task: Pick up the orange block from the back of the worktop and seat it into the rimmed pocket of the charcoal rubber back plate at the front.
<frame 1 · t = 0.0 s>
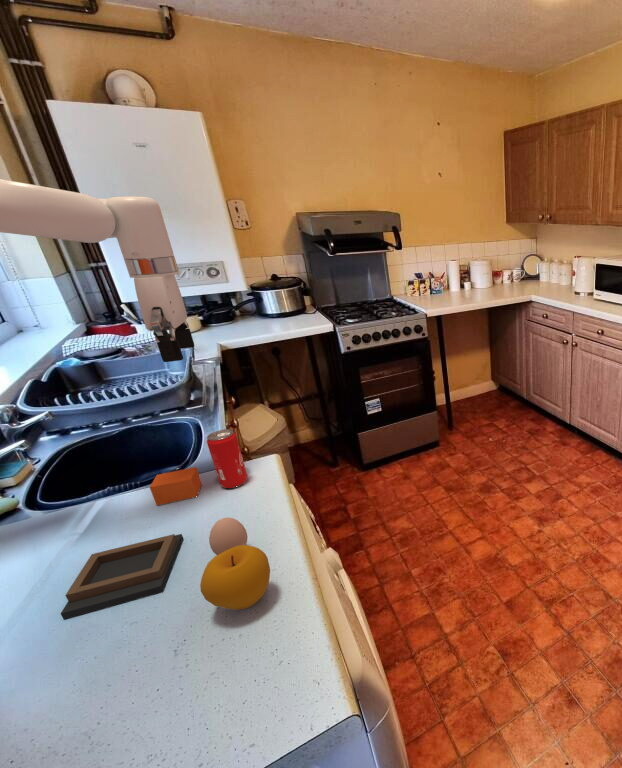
hand: (180, 354, 88), 28 cm above the countertop, tool pointing down, fingers open, 9 cm apart
orange block: (180, 494, 91), on the countertop
egg: (234, 555, 75), on the countertop
back plate: (130, 574, 71), on the countertop
apple: (245, 602, 66), on the countertop
beverage can: (235, 483, 95), on the countertop
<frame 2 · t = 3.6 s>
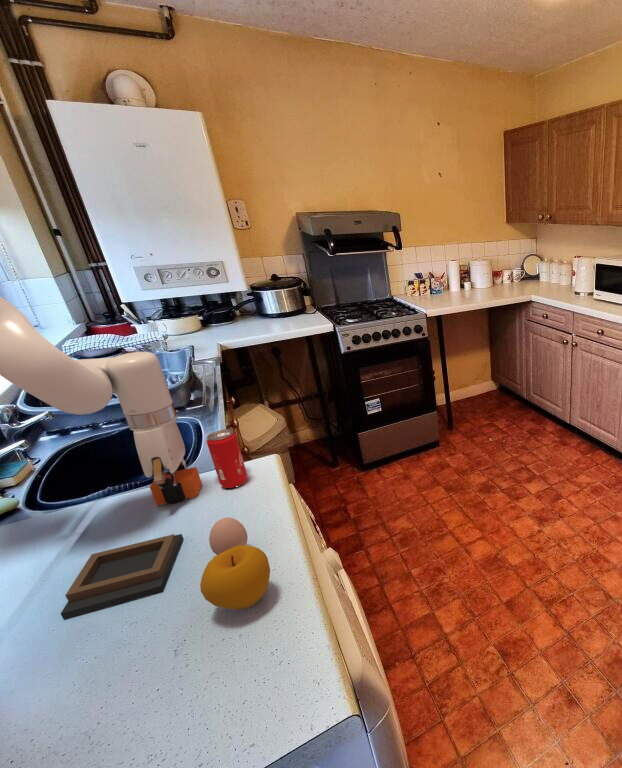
hand: (179, 493, 91), 0 cm above the countertop, tool pointing down, fingers closed on orange block, 5 cm apart
orange block: (180, 494, 91), on the countertop, touching gripper
everything else where it was.
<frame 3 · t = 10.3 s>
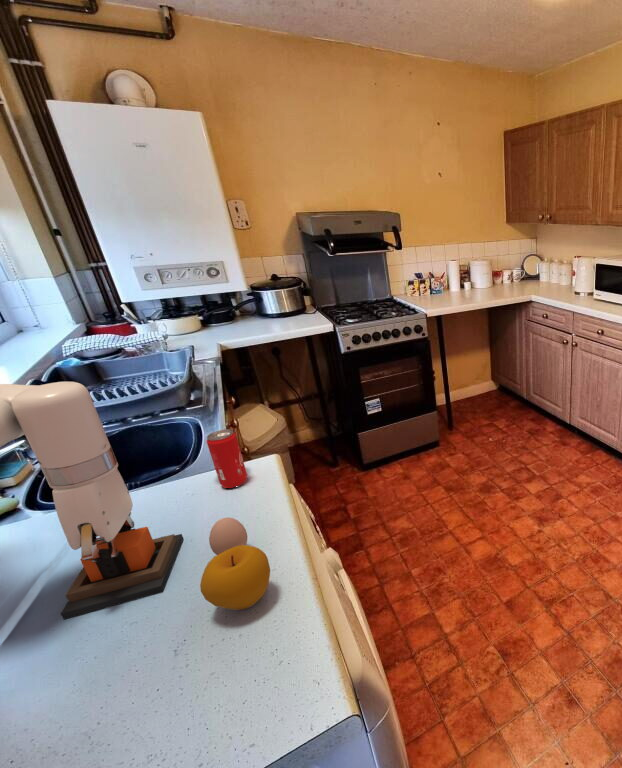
hand: (123, 562, 70), 3 cm above the countertop, tool pointing down, fingers closed on orange block, 5 cm apart
orange block: (125, 564, 70), point 2 cm above the countertop, touching gripper
everything else where it was.
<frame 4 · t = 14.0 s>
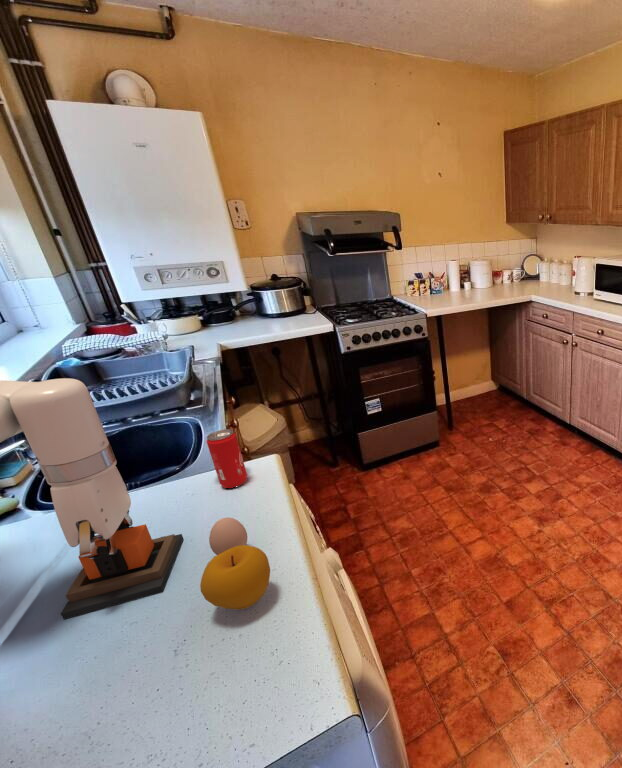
hand: (122, 560, 70), 3 cm above the countertop, tool pointing down, fingers closed on orange block, 4 cm apart
orange block: (123, 562, 70), point 3 cm above the countertop, touching gripper
everything else where it was.
when the fingers open (3 cm above the countertop, at t = 17.5 s): orange block drops 2 cm, resting on back plate.
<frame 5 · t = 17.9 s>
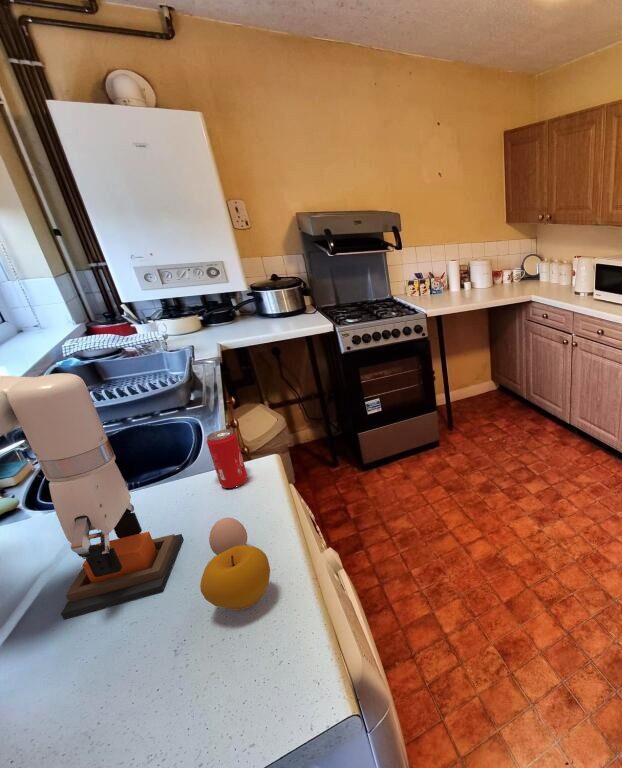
hand: (120, 552, 69), 5 cm above the countertop, tool pointing down, fingers open, 8 cm apart
orange block: (127, 569, 71), point 1 cm above the countertop, touching back plate
everything else where it was.
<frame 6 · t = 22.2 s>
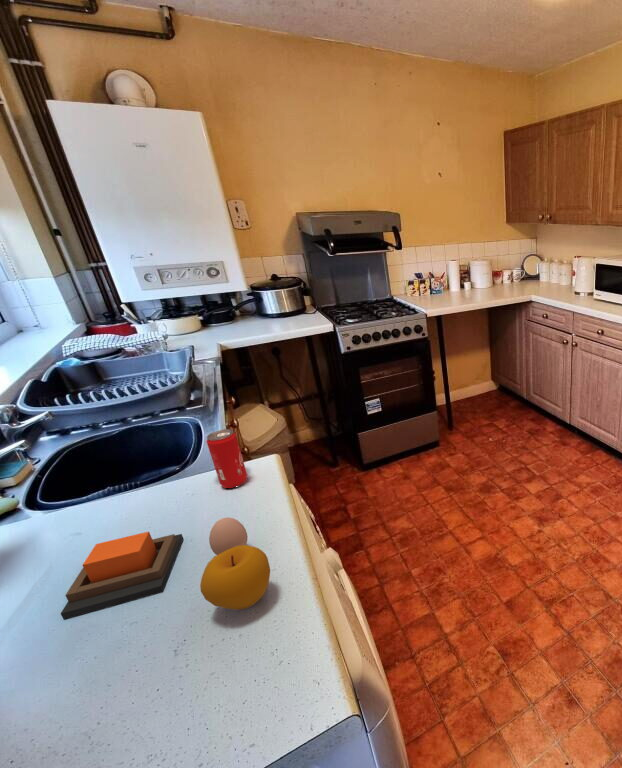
nothing on the countertop moved.
at the end: orange block 0.1 cm off-centre on the back plate, point 1.2 cm above the back plate's base; orange block tilted 0°; the gripper is holding nothing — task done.
